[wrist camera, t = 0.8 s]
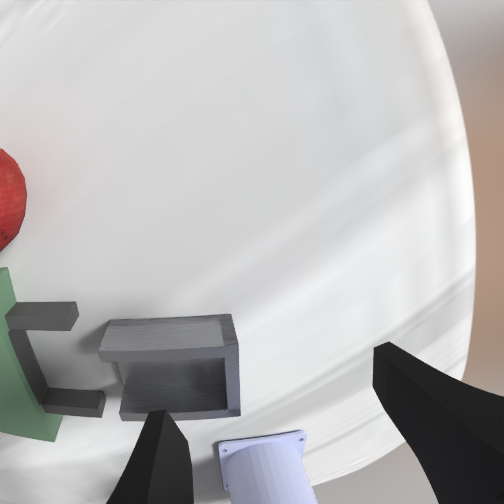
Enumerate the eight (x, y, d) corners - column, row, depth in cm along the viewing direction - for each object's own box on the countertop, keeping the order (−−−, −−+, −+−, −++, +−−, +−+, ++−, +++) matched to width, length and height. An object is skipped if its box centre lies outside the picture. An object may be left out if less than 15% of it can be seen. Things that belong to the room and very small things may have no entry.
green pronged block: (114, 421, 22) (109, 447, 19) (11, 410, 20) (0, 432, 18) (67, 264, 18) (50, 283, 15) (-46, 270, 16) (-68, 285, 13)
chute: (233, 382, 22) (240, 416, 19) (128, 387, 21) (122, 420, 18) (230, 313, 21) (238, 344, 17) (110, 319, 19) (98, 350, 16)
